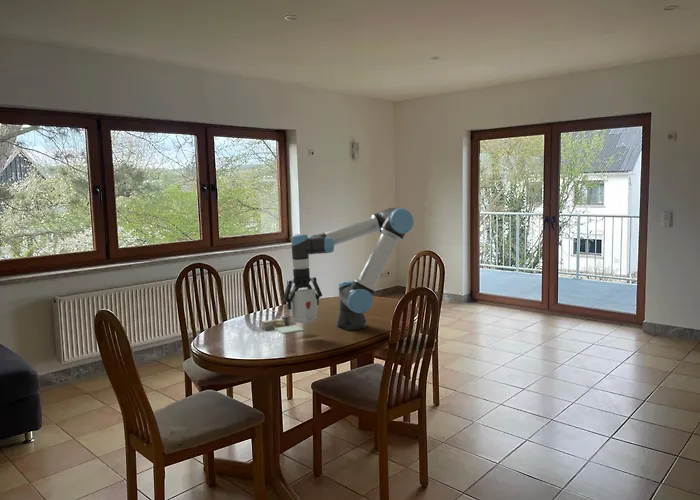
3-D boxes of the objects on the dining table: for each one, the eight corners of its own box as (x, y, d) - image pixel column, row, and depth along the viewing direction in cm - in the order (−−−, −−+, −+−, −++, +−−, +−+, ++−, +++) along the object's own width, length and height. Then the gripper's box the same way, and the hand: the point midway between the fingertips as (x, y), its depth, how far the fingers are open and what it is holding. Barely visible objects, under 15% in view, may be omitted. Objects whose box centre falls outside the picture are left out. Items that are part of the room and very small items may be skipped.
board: (307, 333, 262) (306, 322, 262) (263, 340, 252) (263, 329, 251) (285, 321, 286) (284, 312, 286) (244, 327, 276) (244, 317, 275)
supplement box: (305, 324, 247) (303, 292, 245) (290, 322, 252) (288, 290, 250) (317, 319, 254) (315, 288, 253) (302, 318, 259) (300, 287, 257)
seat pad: (303, 330, 262) (303, 329, 262) (282, 334, 256) (282, 332, 256) (294, 326, 271) (294, 324, 271) (274, 329, 266) (274, 327, 266)
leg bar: (287, 324, 275) (287, 315, 275) (290, 325, 272) (289, 317, 271) (261, 328, 269) (261, 319, 268) (264, 329, 265) (263, 320, 265)
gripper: (320, 264, 259) (323, 308, 261) (273, 269, 248) (276, 316, 250) (327, 265, 253) (330, 311, 255) (279, 271, 241) (282, 319, 244)
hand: (303, 314), depth 253 cm, fingers closed on supplement box, 11 cm apart
